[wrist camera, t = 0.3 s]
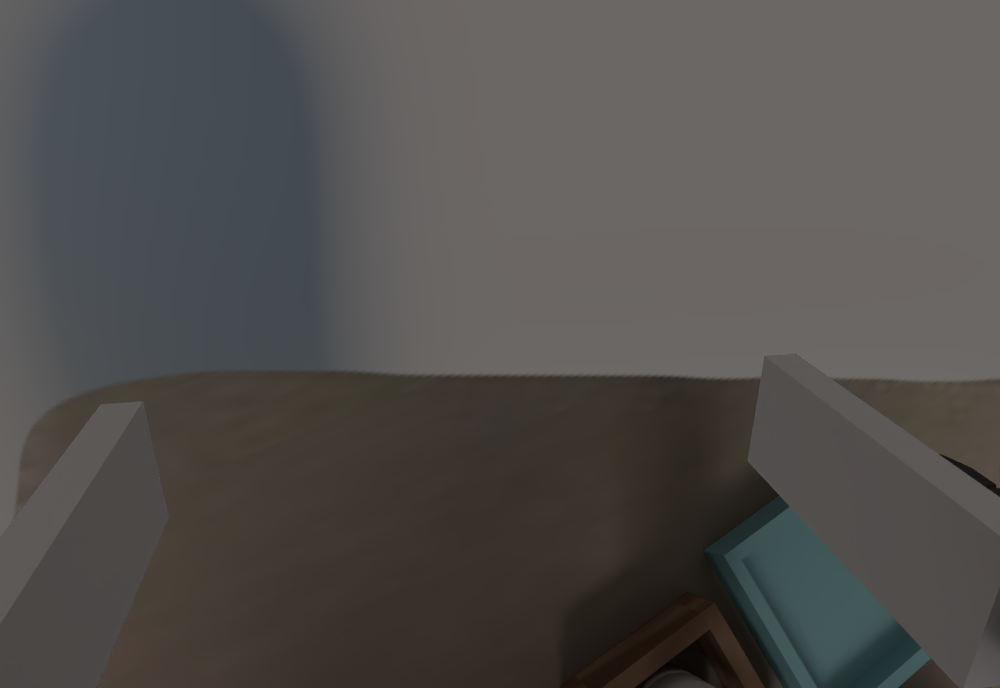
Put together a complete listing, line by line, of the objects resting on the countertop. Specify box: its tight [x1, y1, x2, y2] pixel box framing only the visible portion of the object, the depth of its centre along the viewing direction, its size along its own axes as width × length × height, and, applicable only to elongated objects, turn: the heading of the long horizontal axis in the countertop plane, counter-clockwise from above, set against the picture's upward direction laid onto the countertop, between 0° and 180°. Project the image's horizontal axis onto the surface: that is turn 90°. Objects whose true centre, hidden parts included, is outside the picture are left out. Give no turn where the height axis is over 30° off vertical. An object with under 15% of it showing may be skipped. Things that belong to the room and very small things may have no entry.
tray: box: [703, 495, 931, 688], centre depth 52 cm, size 15×15×3 cm
